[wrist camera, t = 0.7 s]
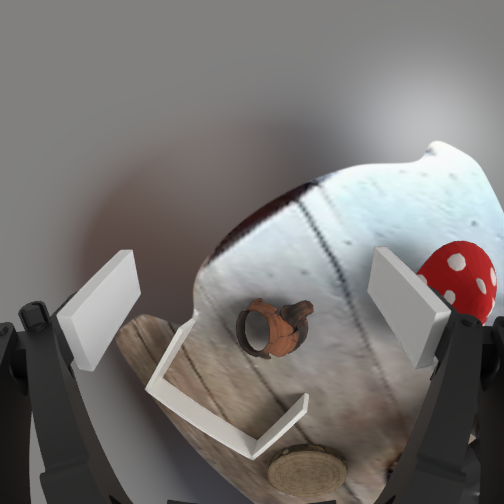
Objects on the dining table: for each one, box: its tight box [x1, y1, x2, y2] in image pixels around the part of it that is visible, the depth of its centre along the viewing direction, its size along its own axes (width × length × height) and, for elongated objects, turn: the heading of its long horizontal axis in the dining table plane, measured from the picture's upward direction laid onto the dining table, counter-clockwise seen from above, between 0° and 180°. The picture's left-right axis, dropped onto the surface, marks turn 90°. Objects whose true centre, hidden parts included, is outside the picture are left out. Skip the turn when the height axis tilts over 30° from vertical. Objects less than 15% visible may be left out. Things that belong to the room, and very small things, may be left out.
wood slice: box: [268, 444, 347, 497], centre depth 45 cm, size 16×16×3 cm
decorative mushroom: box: [416, 241, 497, 326], centre depth 30 cm, size 14×14×15 cm
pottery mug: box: [236, 298, 314, 359], centre depth 41 cm, size 12×10×8 cm
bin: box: [145, 318, 309, 460], centre depth 45 cm, size 24×16×5 cm
